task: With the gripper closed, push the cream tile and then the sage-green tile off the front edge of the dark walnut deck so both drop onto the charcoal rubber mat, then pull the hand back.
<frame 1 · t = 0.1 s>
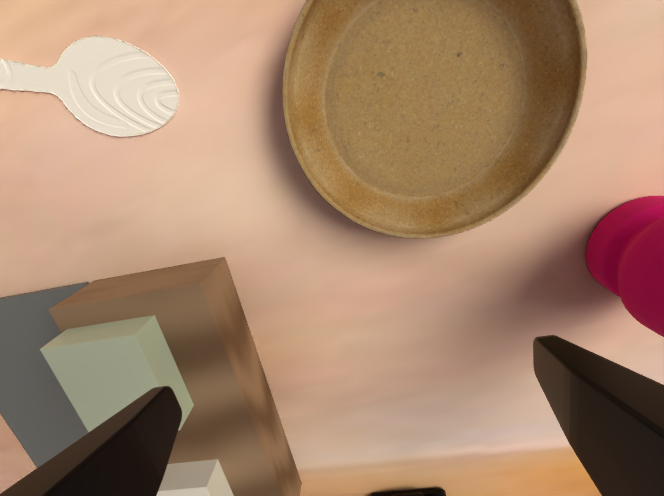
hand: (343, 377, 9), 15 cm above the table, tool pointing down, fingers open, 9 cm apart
plant saucer: (418, 101, 20), on the table
spoon: (36, 78, 21), on the table
tile sage: (132, 368, 23), point 4 cm above the table, touching deck
deck: (208, 392, 28), on the table
mat: (77, 409, 30), on the table
pepper mill: (635, 243, 22), on the table
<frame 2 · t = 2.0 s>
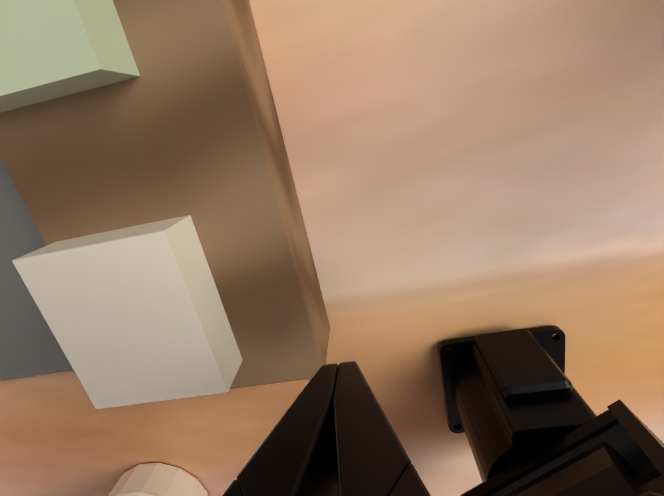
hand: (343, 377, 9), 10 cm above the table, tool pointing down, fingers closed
white cup: (166, 490, 26), on the table
deck: (179, 148, 17), on the table
tile cream: (154, 304, 15), point 4 cm above the table, touching deck
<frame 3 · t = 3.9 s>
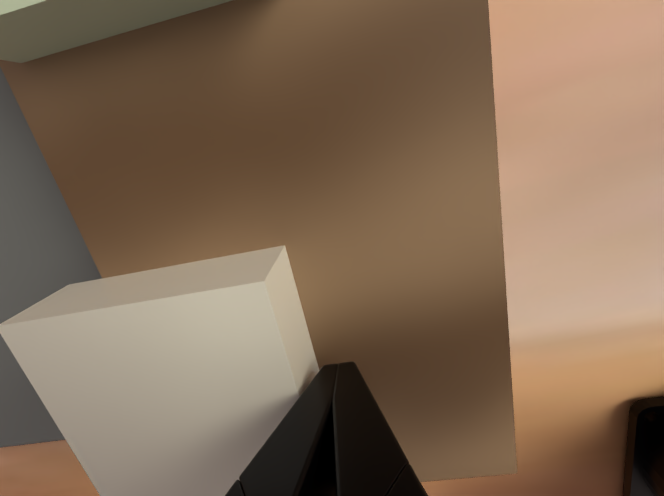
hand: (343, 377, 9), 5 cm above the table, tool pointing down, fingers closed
deck: (288, 130, 11), on the table
tile cream: (215, 376, 10), point 4 cm above the table, touching deck, gripper
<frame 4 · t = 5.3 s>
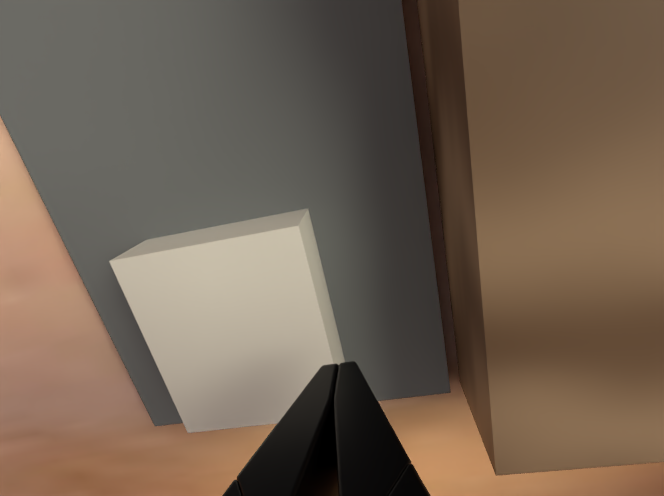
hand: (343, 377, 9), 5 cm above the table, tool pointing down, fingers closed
deck: (604, 56, 10), on the table
mat: (215, 145, 12), on the table
tile cream: (235, 343, 11), point 2 cm above the table, tilted 180°, touching mat
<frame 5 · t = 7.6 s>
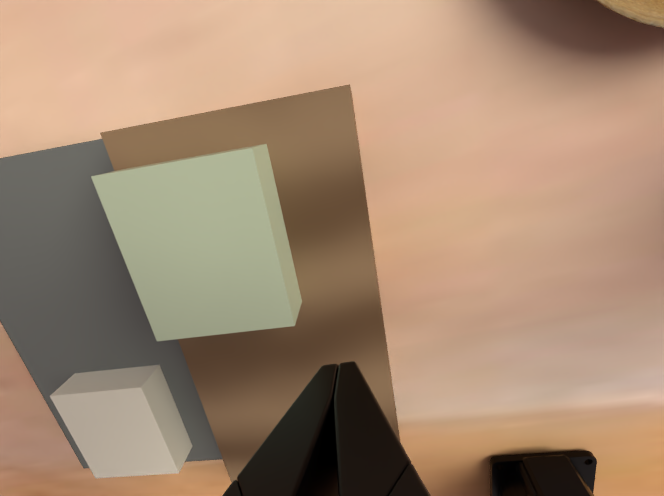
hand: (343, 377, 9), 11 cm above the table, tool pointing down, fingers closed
tile sage: (218, 238, 15), point 4 cm above the table, touching deck
deck: (295, 308, 21), on the table
mat: (111, 330, 22), on the table
tile cream: (116, 436, 22), point 2 cm above the table, tilted 180°, touching mat
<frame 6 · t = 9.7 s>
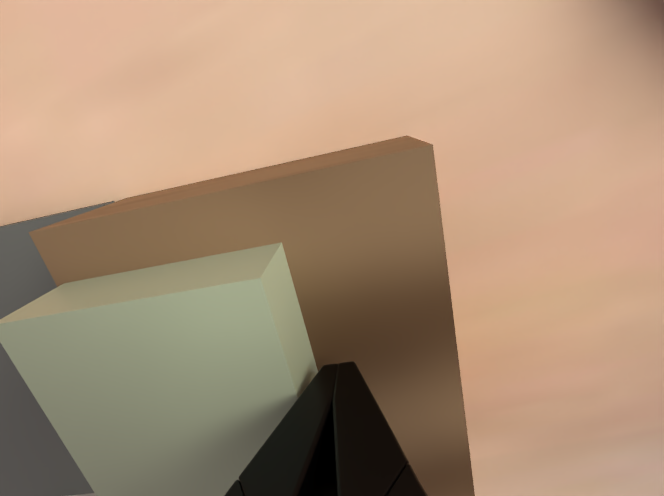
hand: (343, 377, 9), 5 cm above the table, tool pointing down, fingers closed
tile sage: (212, 375, 10), point 4 cm above the table, touching gripper
deck: (329, 416, 15), on the table
mat: (89, 445, 17), on the table
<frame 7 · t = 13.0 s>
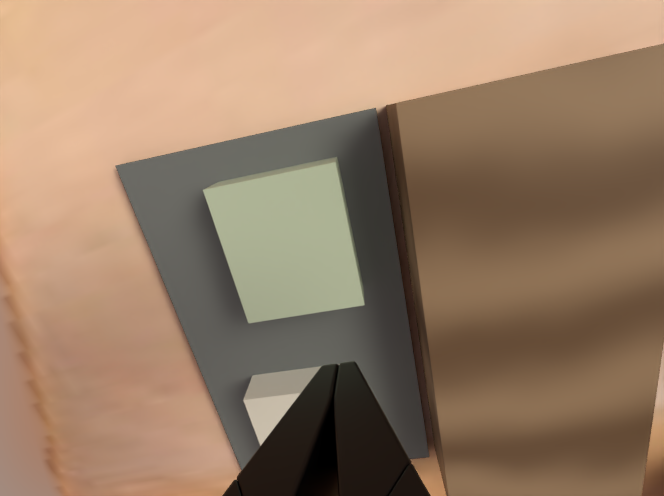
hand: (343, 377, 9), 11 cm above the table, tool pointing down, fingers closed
tile sage: (287, 250, 16), point 2 cm above the table, tilted 180°, touching mat
deck: (506, 296, 19), on the table
mat: (296, 327, 21), on the table
tile cream: (308, 440, 21), point 2 cm above the table, tilted 180°, touching mat
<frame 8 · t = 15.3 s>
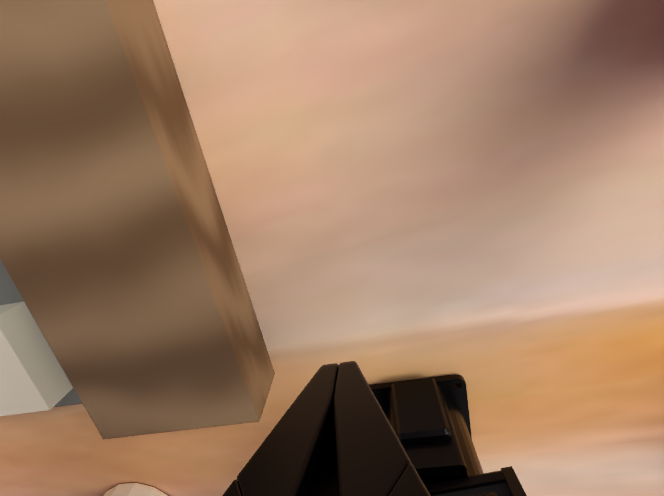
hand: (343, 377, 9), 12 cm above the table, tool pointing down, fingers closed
deck: (145, 234, 21), on the table
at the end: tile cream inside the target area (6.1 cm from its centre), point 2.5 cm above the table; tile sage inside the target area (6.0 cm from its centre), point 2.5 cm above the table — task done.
